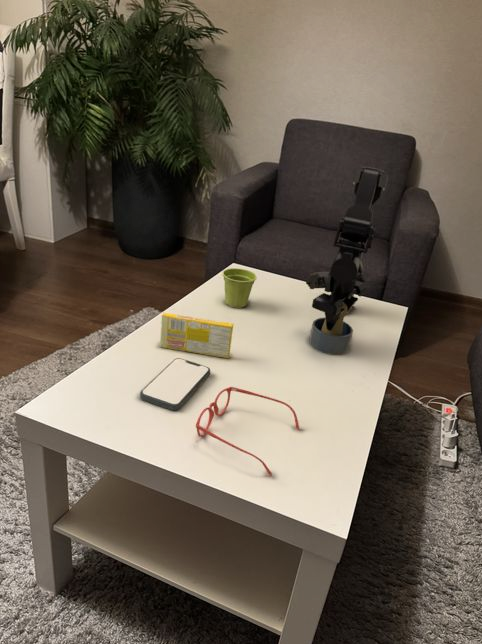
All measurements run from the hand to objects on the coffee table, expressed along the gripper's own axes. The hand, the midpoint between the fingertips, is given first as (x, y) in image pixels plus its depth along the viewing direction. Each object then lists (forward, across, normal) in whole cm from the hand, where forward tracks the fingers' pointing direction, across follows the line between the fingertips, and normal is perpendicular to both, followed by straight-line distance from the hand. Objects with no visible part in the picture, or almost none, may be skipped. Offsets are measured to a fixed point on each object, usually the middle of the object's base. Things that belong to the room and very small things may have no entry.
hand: (332, 326), depth 134 cm
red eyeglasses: (+5, +45, +4) cm, 46 cm away
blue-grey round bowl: (+5, 0, 0) cm, 5 cm away
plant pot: (+5, -2, -30) cm, 31 cm away
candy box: (+5, +27, -22) cm, 35 cm away
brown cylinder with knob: (+5, 0, 0) cm, 5 cm away
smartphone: (+5, +41, -16) cm, 44 cm away
